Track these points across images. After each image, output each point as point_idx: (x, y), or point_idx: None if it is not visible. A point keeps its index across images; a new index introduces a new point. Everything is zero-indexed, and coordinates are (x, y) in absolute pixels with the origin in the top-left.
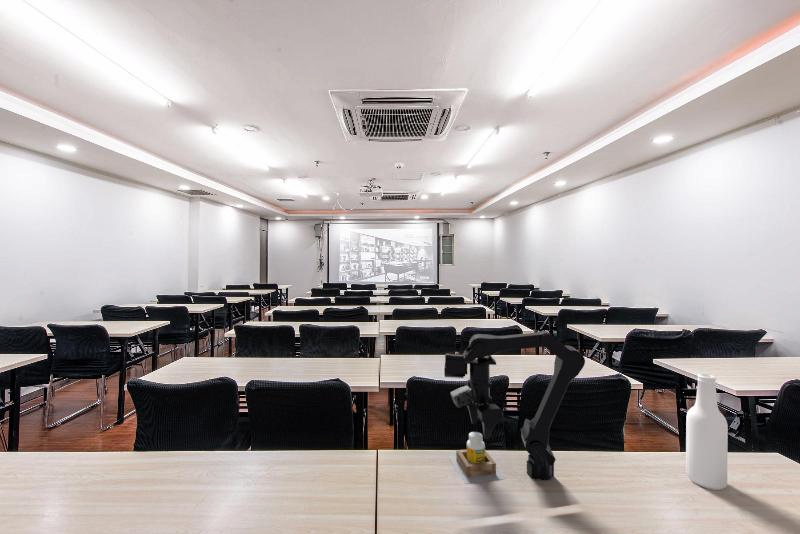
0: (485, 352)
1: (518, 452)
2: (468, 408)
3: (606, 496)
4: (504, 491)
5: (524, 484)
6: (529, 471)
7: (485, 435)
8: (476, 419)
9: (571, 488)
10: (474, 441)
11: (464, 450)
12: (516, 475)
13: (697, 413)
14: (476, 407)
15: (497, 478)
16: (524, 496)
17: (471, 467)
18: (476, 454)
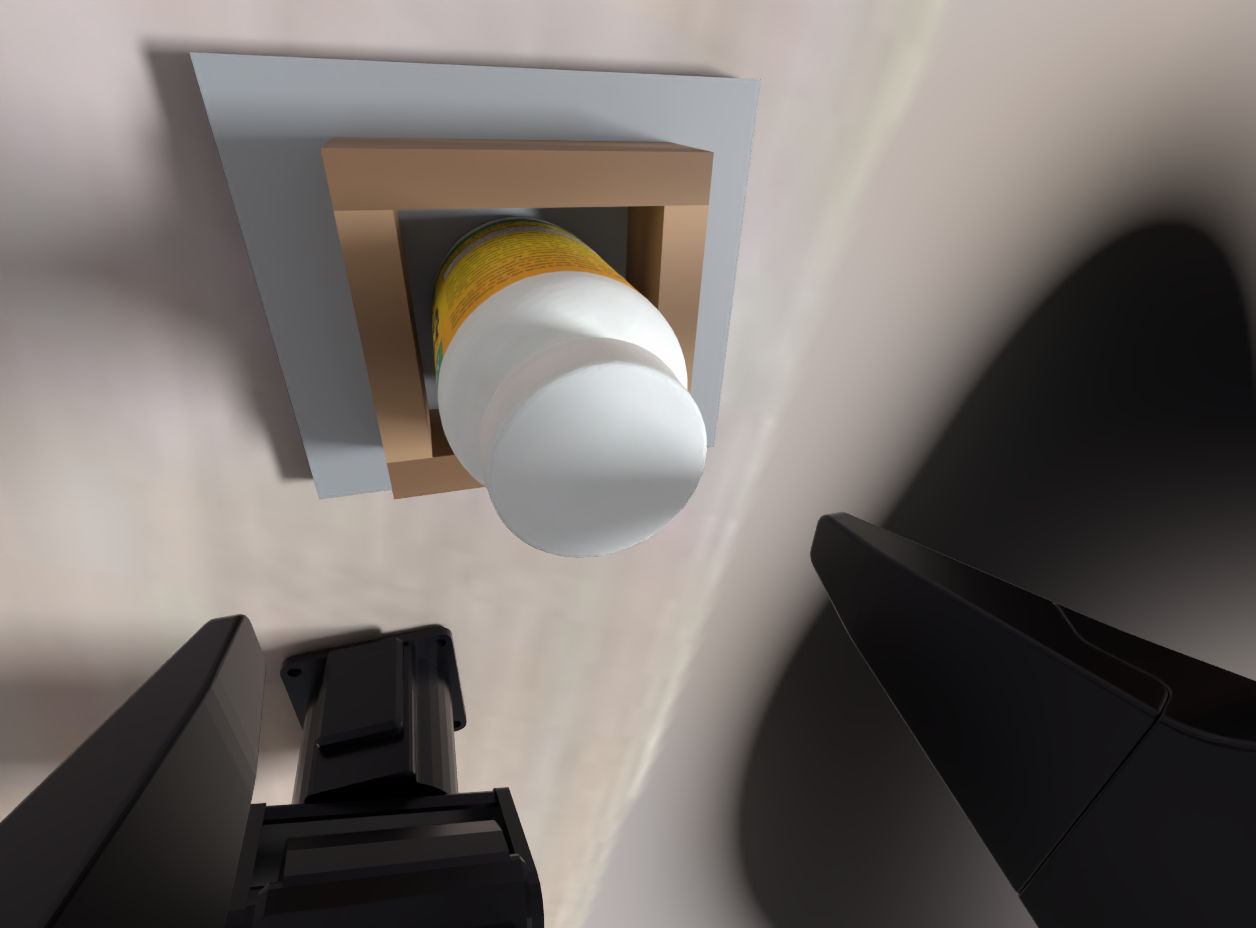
0: None
1: (678, 635)
2: (1154, 667)
3: None
4: (189, 439)
5: (307, 593)
6: (354, 681)
7: (147, 694)
8: (850, 623)
9: (274, 795)
10: (492, 399)
11: (688, 257)
12: (425, 571)
13: None
14: (1051, 835)
15: (320, 439)
16: (134, 560)
17: (337, 216)
18: (437, 347)
